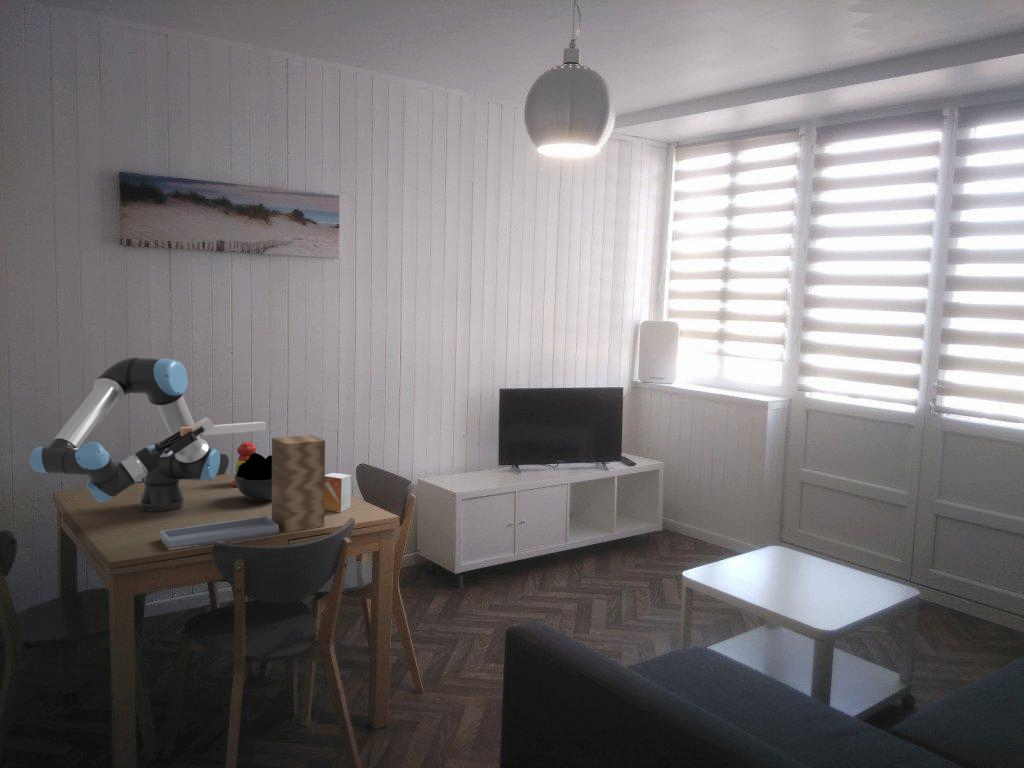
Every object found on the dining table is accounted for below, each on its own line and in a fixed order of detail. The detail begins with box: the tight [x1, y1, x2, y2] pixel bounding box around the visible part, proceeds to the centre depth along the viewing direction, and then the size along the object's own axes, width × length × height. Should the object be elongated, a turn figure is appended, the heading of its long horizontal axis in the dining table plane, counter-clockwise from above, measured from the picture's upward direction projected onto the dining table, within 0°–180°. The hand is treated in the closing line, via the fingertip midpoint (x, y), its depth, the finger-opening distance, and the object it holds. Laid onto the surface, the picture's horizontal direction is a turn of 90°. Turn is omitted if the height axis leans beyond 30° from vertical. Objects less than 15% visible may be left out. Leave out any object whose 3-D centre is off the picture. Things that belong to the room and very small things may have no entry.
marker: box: [180, 421, 267, 437], centre depth 245 cm, size 26×3×3 cm, turn 128°
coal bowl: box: [233, 452, 272, 502], centre depth 293 cm, size 20×20×19 cm
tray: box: [159, 515, 280, 549], centre depth 248 cm, size 34×12×3 cm, turn 127°
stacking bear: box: [230, 440, 257, 487], centre depth 316 cm, size 11×10×18 cm
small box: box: [324, 472, 352, 513], centre depth 284 cm, size 8×6×13 cm
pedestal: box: [271, 434, 326, 533], centre depth 262 cm, size 14×12×30 cm
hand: (210, 421), depth 242 cm, fingers closed on marker, 3 cm apart
